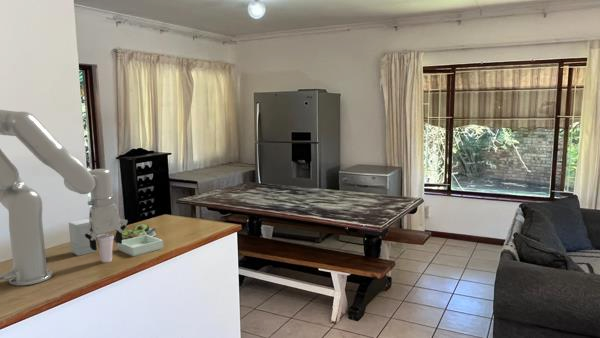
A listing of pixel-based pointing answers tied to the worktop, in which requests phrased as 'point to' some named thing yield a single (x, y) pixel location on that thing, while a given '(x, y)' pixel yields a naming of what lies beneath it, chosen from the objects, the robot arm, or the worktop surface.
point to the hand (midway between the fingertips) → (106, 246)
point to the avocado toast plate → (139, 231)
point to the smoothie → (105, 246)
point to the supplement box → (79, 238)
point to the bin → (140, 245)
